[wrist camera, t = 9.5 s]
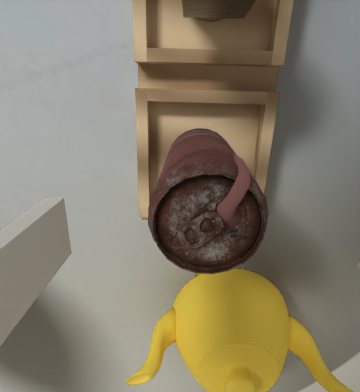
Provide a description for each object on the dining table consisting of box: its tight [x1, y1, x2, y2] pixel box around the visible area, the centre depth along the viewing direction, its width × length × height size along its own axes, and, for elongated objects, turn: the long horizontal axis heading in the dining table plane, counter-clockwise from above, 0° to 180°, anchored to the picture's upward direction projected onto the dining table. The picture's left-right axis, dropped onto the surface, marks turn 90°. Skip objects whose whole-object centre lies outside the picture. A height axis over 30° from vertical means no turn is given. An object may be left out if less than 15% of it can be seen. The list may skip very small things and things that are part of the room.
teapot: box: [126, 268, 353, 392], centre depth 28 cm, size 20×15×12 cm
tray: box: [133, 0, 294, 220], centre depth 23 cm, size 28×12×3 cm, turn 178°
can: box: [148, 128, 268, 274], centre depth 19 cm, size 6×6×14 cm
